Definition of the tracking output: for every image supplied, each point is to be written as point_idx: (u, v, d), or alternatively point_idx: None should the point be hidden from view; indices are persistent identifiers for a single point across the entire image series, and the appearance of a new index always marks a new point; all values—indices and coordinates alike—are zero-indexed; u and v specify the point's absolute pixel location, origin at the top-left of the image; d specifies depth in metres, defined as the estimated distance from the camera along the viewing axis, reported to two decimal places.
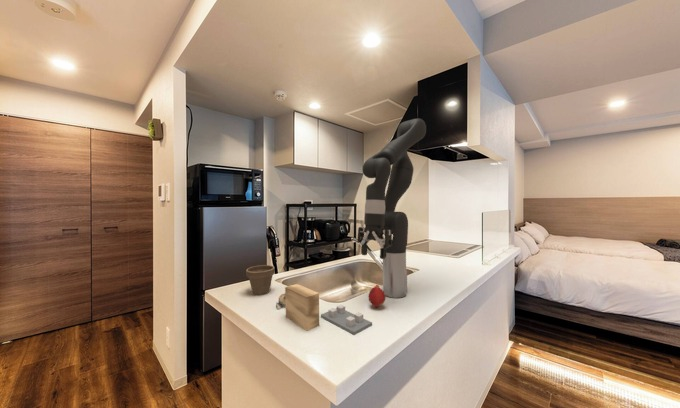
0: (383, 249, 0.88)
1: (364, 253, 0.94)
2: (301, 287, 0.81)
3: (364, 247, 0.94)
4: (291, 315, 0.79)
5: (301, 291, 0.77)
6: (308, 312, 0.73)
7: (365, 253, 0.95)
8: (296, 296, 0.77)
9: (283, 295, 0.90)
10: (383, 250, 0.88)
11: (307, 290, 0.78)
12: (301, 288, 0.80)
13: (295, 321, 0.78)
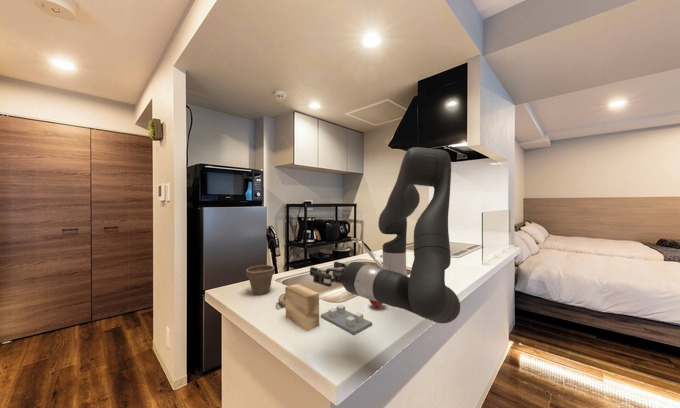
0: None
1: None
2: (301, 287, 0.81)
3: None
4: (291, 315, 0.79)
5: (301, 291, 0.77)
6: (308, 312, 0.73)
7: None
8: (296, 296, 0.77)
9: (283, 295, 0.90)
10: None
11: (307, 290, 0.78)
12: (301, 288, 0.80)
13: (295, 321, 0.78)
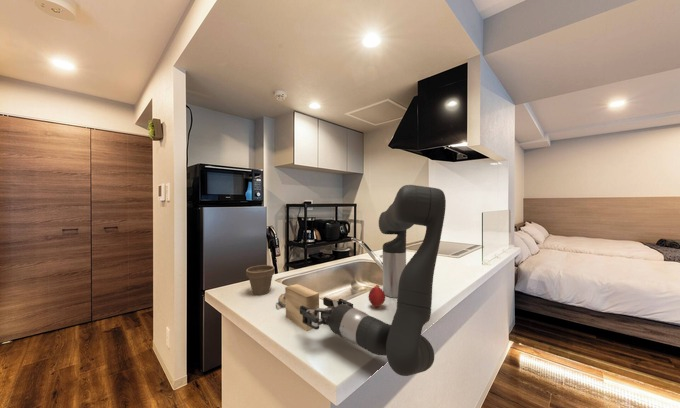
0: None
1: None
2: (301, 287, 0.81)
3: None
4: (291, 315, 0.79)
5: (301, 291, 0.77)
6: None
7: None
8: (296, 296, 0.77)
9: (283, 295, 0.90)
10: None
11: (307, 290, 0.78)
12: (301, 288, 0.80)
13: (295, 321, 0.78)
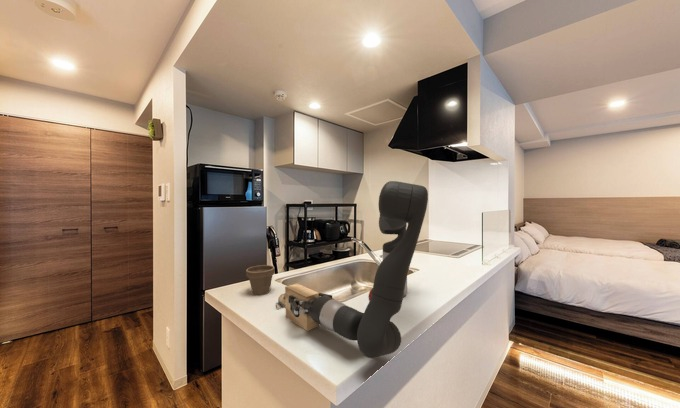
0: None
1: None
2: (301, 287, 0.81)
3: None
4: (291, 315, 0.79)
5: (301, 291, 0.77)
6: None
7: None
8: (296, 296, 0.77)
9: (283, 295, 0.90)
10: None
11: (307, 290, 0.78)
12: (301, 288, 0.80)
13: (295, 321, 0.78)
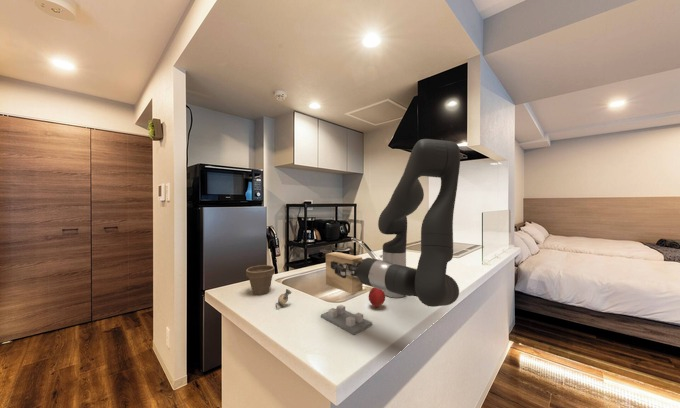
0: None
1: None
2: (342, 254, 0.81)
3: None
4: (333, 281, 0.79)
5: (344, 256, 0.77)
6: None
7: None
8: (339, 261, 0.77)
9: (283, 295, 0.90)
10: None
11: (349, 255, 0.78)
12: (342, 254, 0.80)
13: (337, 286, 0.77)
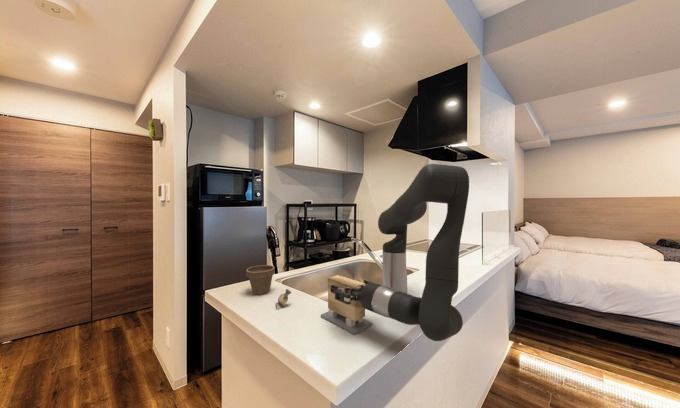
0: None
1: None
2: (344, 278, 0.81)
3: None
4: (335, 306, 0.79)
5: (346, 282, 0.77)
6: (355, 302, 0.73)
7: None
8: (342, 286, 0.76)
9: (283, 295, 0.90)
10: None
11: (351, 281, 0.78)
12: (345, 279, 0.80)
13: (340, 312, 0.77)
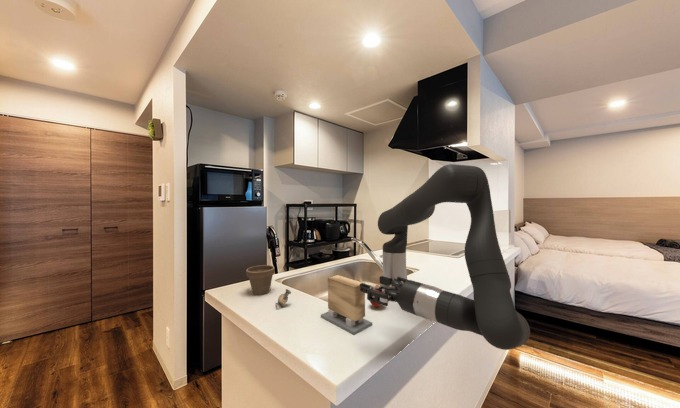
0: None
1: None
2: (344, 278, 0.81)
3: None
4: (335, 306, 0.79)
5: (346, 282, 0.77)
6: (355, 302, 0.73)
7: None
8: (342, 286, 0.76)
9: (283, 295, 0.90)
10: None
11: (351, 281, 0.78)
12: (345, 279, 0.80)
13: (340, 312, 0.77)
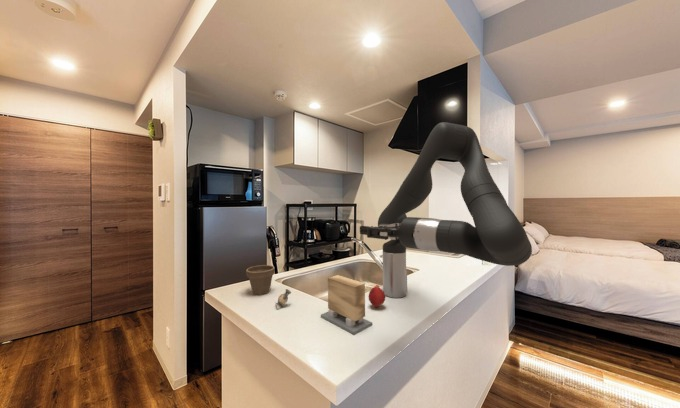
0: None
1: None
2: (344, 278, 0.81)
3: None
4: (335, 306, 0.79)
5: (346, 282, 0.77)
6: (355, 302, 0.73)
7: None
8: (342, 286, 0.76)
9: (282, 295, 0.90)
10: None
11: (351, 281, 0.78)
12: (345, 279, 0.80)
13: (340, 312, 0.77)
